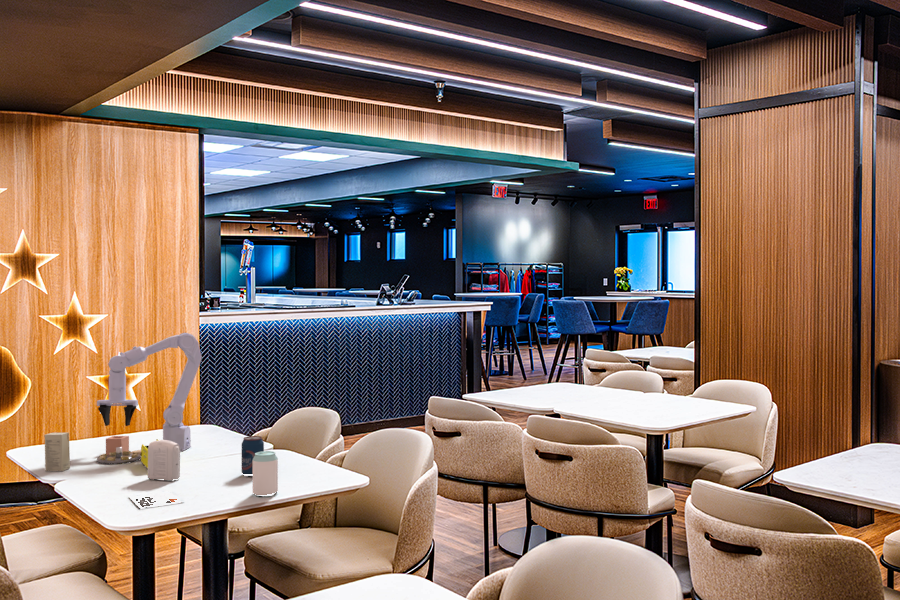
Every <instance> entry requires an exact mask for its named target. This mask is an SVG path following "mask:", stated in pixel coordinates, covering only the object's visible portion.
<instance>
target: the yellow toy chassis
mask: <svg viewBox="0 0 900 600" xmlns="http://www.w3.org/2000/svg"><path fill="white" fill-rule="evenodd" d="M158 440H159V439H156V440H155V441H158ZM148 446H149V445H144V444H143V443H142V444H141V449H140V450H141V459H140V462H141V463H142V464H143V466H144V468H147V469H148Z"/></svg>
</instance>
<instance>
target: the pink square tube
mask: <svg viewBox="0 0 900 600" xmlns="http://www.w3.org/2000/svg"><path fill="white" fill-rule="evenodd" d="M116 447H122V453H123V451H130V436H129V435H112V436H109V437H106V438H105V454H107V455H110V452H116Z"/></svg>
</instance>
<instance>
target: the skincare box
mask: <svg viewBox="0 0 900 600" xmlns="http://www.w3.org/2000/svg"><path fill="white" fill-rule="evenodd" d="M70 454H71V452H70V432H50V433H46V434H44V462H45V464H44V468H45V472H64V471H67V470H69V469H71V461H70V460H71V459H70Z"/></svg>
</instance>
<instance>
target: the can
mask: <svg viewBox="0 0 900 600" xmlns="http://www.w3.org/2000/svg"><path fill="white" fill-rule="evenodd" d="M278 459H279V458H278V456H277V455H276V452H275V451H271V450H270V451H268V450H264V451H263V452H257V453H255V456H254V458H253V477H252V494H253V493H254V494H256V495H267V494H272V493H275V492H277V491H278V492H279V489H278V488H279V486H278V484H279V483H278V482H279V476H278V475H279V474H278V473H279V471H278V470H279V467H278V466H279V465H278V462H279V461H278ZM278 492H277V493H278ZM254 494H253V495H254ZM256 495H255V496H256Z"/></svg>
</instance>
